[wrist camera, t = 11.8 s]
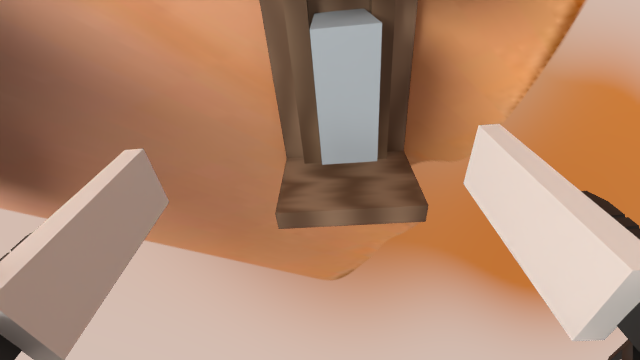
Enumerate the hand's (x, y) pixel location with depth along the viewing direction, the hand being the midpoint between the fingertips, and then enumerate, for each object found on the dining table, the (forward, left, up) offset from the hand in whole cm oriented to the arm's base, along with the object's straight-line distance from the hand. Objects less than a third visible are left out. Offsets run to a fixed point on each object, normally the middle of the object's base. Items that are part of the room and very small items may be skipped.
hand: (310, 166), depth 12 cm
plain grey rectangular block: (+2, -1, -20) cm, 20 cm away
